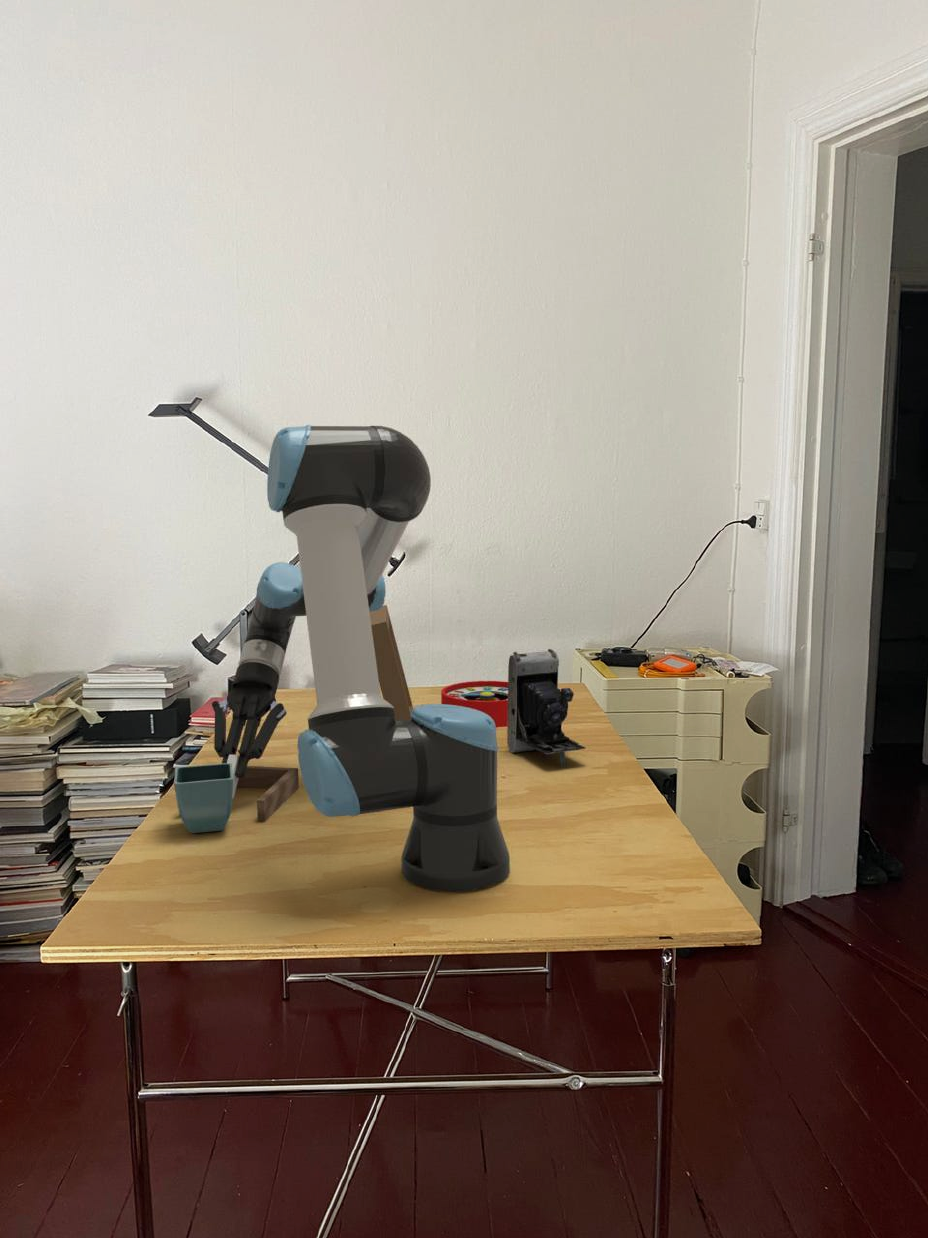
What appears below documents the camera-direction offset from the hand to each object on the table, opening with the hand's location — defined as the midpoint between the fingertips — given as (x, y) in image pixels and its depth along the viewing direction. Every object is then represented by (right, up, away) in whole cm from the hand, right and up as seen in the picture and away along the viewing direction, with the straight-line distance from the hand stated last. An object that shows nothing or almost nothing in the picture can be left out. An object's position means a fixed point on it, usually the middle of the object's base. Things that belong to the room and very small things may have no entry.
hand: (226, 794), depth 172 cm
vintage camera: (+54, +2, +31) cm, 62 cm away
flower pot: (-2, -5, -5) cm, 7 cm away
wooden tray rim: (+1, -2, +7) cm, 7 cm away
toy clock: (+43, +7, +62) cm, 76 cm away
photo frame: (+21, +5, +50) cm, 54 cm away
